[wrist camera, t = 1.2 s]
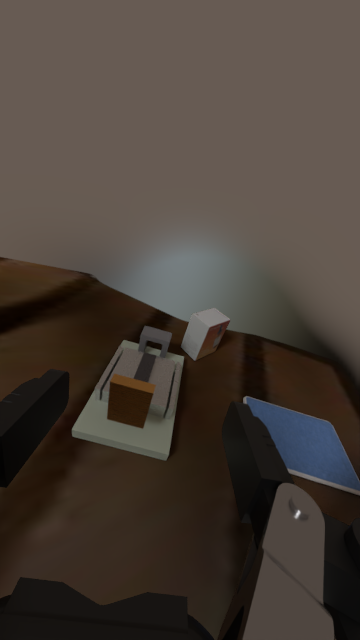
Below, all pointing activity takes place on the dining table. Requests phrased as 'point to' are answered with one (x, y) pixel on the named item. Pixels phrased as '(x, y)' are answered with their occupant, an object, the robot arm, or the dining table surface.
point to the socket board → (127, 437)
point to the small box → (204, 333)
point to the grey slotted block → (160, 376)
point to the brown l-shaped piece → (132, 395)
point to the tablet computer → (307, 446)
